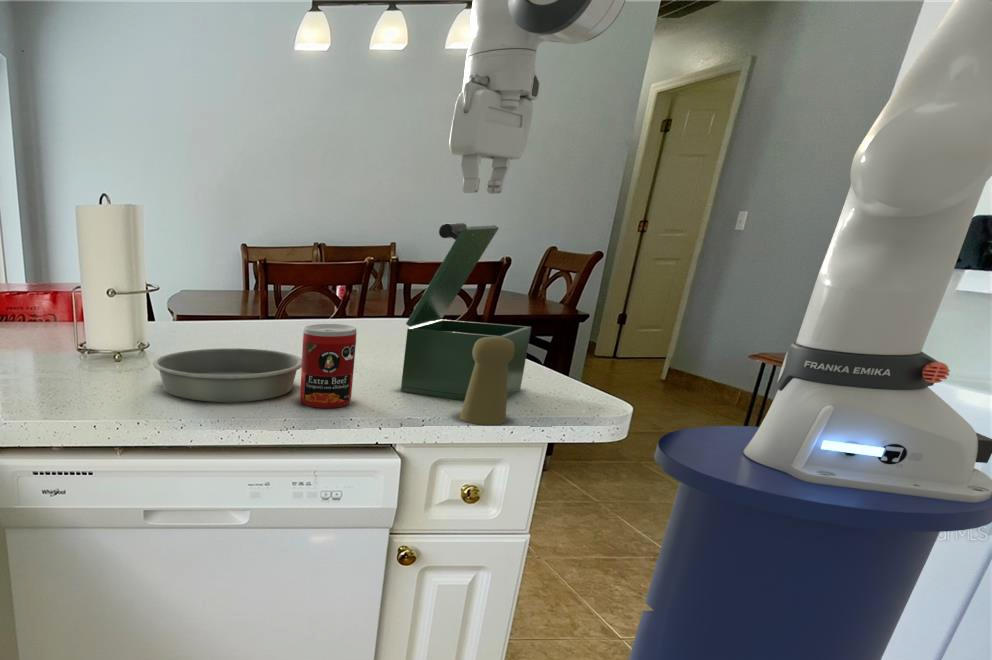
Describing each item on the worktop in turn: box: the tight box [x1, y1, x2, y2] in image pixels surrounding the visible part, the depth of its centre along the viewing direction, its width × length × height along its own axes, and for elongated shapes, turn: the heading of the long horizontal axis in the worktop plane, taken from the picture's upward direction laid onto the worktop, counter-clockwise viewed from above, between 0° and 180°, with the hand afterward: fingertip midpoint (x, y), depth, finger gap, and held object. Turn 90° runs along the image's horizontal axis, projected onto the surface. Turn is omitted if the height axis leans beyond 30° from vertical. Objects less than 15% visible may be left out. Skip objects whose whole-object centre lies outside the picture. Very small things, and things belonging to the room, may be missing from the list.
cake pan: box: [152, 347, 302, 403], centre depth 117 cm, size 25×25×4 cm
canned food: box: [299, 323, 357, 409], centre depth 106 cm, size 8×8×11 cm
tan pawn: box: [459, 337, 515, 426], centre depth 96 cm, size 6×6×11 cm
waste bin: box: [400, 318, 532, 401], centre depth 112 cm, size 15×13×10 cm
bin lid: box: [405, 222, 499, 328], centre depth 110 cm, size 16×13×5 cm
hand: (482, 193), depth 103 cm, fingers open, 8 cm apart
